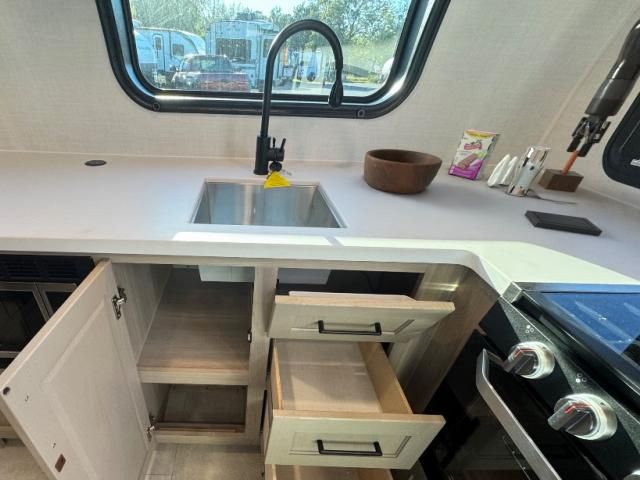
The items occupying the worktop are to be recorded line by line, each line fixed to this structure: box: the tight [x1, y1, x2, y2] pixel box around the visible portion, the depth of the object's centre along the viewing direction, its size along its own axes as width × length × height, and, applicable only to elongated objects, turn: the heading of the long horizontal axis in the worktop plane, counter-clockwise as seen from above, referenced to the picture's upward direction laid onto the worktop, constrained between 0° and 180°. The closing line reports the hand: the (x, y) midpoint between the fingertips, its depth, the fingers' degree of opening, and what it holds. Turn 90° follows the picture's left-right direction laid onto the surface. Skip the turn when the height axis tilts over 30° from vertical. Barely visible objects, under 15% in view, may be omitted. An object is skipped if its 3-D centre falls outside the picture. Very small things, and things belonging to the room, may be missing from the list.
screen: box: [534, 211, 594, 229], centre depth 88 cm, size 11×8×1 cm
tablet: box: [524, 209, 603, 237], centre depth 88 cm, size 14×10×2 cm
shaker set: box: [487, 153, 519, 187], centre depth 116 cm, size 12×4×11 cm, turn 119°
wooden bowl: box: [363, 148, 443, 194], centre depth 113 cm, size 25×25×10 cm
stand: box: [537, 168, 585, 193], centre depth 111 cm, size 8×8×7 cm
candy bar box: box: [447, 129, 502, 181], centre depth 124 cm, size 11×5×16 cm, turn 34°
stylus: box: [561, 149, 580, 173], centre depth 109 cm, size 2×2×14 cm
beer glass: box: [505, 145, 554, 197], centre depth 107 cm, size 7×7×15 cm
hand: (574, 154), depth 106 cm, fingers open, 8 cm apart
